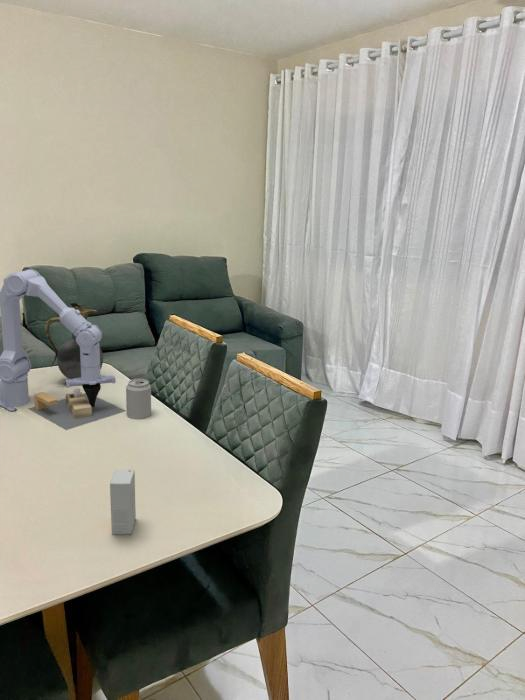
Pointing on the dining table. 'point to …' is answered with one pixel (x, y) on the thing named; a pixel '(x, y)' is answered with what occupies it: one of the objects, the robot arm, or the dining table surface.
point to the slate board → (63, 416)
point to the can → (138, 399)
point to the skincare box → (123, 501)
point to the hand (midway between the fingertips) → (92, 406)
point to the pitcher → (70, 348)
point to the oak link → (78, 406)
